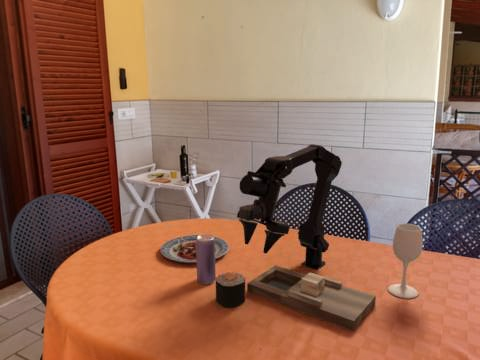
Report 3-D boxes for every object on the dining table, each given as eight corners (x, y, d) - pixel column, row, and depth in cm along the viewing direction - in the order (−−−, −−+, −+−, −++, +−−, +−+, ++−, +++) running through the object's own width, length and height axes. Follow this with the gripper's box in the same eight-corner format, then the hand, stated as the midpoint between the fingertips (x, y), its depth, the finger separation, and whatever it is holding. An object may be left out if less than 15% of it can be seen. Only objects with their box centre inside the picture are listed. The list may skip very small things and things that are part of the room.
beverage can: (212, 286, 131) (212, 241, 128) (194, 284, 132) (193, 240, 129) (217, 277, 137) (216, 234, 133) (200, 275, 138) (199, 233, 134)
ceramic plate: (242, 248, 161) (242, 241, 161) (201, 273, 140) (201, 265, 139) (190, 235, 175) (190, 228, 174) (146, 257, 154) (145, 249, 153)
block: (309, 284, 126) (309, 272, 125) (324, 289, 123) (324, 277, 122) (300, 291, 122) (301, 278, 121) (316, 296, 119) (316, 283, 118)
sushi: (211, 299, 123) (210, 274, 121) (233, 291, 128) (233, 267, 126) (227, 311, 117) (226, 285, 115) (250, 301, 122) (250, 276, 120)
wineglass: (417, 287, 130) (424, 224, 125) (419, 301, 122) (426, 233, 117) (387, 283, 133) (393, 220, 128) (387, 296, 125) (393, 230, 120)
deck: (275, 273, 140) (275, 260, 139) (375, 305, 120) (376, 291, 119) (247, 292, 127) (247, 278, 126) (353, 331, 107) (354, 315, 106)
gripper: (229, 188, 128) (217, 237, 129) (268, 201, 113) (254, 256, 114) (256, 194, 135) (244, 240, 135) (296, 207, 120) (283, 259, 121)
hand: (255, 248), depth 126 cm, fingers open, 9 cm apart
